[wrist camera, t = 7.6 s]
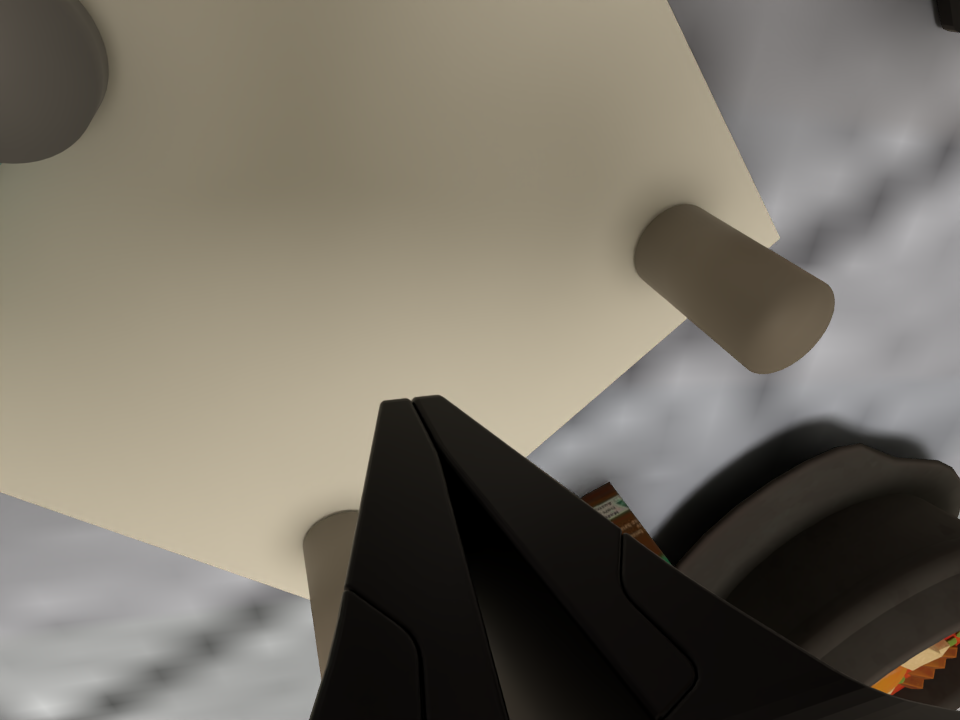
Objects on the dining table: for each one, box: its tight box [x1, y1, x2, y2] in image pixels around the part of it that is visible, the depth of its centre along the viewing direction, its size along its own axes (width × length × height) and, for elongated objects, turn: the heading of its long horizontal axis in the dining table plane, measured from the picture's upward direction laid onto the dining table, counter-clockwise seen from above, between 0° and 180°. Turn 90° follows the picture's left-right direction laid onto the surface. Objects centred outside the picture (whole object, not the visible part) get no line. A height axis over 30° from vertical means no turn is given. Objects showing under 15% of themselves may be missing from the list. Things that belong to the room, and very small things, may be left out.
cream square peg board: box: [0, 0, 835, 680], centre depth 13 cm, size 18×18×6 cm
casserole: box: [675, 443, 960, 710], centre depth 32 cm, size 25×19×8 cm
